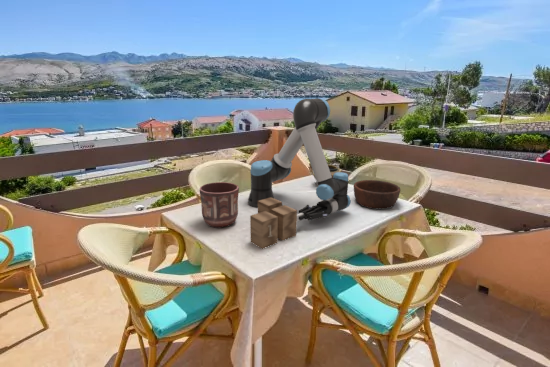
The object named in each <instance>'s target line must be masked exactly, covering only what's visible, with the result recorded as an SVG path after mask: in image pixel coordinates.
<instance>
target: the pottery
mask: <svg viewBox="0 0 550 367" xmlns="http://www.w3.org/2000/svg"><path fill="white" fill-rule="evenodd" d="M239 192H240V187H239V185H237V184H235V183H232V182H228V181H227V182H226V181H224V182H223V181H222V182H220V181H219V182H209V183H205V184H203V185H201V186H200V187H199V195H200V203H201V204H200V205H201V215H202V218H203V221H204V223H205V224H206V225H208V227H209V226H210V227H212V228H215V229H216V228H218V229H219V228H222V229H223V228H228V227H230V226H231V225H233V224H234V223H235V222H236V220H237V218H238V215H239Z"/></svg>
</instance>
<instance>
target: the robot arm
mask: <svg viewBox="0 0 550 367" xmlns="http://www.w3.org/2000/svg"><path fill="white" fill-rule="evenodd" d="M292 114H293V116H292V118H293V124H294V128H293V129H292V131H291V133H290V135H289V136H288V138H287V139H286V141H285V142H284V144H283V146H282V147H281V148H280V151H279V152H278V153H274V155H273V157H272V158H271V160H269V159H268V160H266V159H265V160H264V159H262V160H257V161H254V162H252V163H251V165H250V191H249V195H248V198H247V204H248V205H249V206H250V207H253V208H258V201H259V200H263V199H266V198H270V197H271V198H274V199H276V198H275V195H274V193H273V183H274V182H277V181H281V180H284V179H286V178H287V177H288V176H289V175H290V174H291V172H292V166H293V163H292V161H293V160H294V158H295V157H296V155H297V154H298V153H299V151H300V150H301V148H302V147H303V146H304V149H305V152H306V155H307V158H308V161H309V163H310V166H311V169H312V171H313V173H314V175H315V178H316V179H315V178H314V179H315V181H316V184H317V186H316V189H315V190H316V191H315V194H316V196H317V198H318V199H319V200H320V201H318V202H317V203H316V204H315V205H312V206H310V205H309V204H306V205H305V206H304V207H302V208H301V209H299V210H298V212H297V222H300V221H302V220H308V221H313V220H317V219H322V218H323V219H324V218H328V216H329V215H331V214H333V213H337V212H339V211H343V210H345V209H347V208H349V207H350V205H351V203H352V202H351V201H352V200H351V198H350V196H349V195H348V188H349V174H348V173H347V172H336V173H334V175H333V179H332V176H331V173H330V170H329V167H328V165H329V164H328V161H327V159H326V155H325V153H324V151H323V146H322V145H321V142H320V138H319V136H318V133H317V129H318V128H319V126H320V125H321V123H323V122H326V120H327V119H329V117H330V115H331V107H330V104H329V103H328V101H327V100H326V99H324V98H320V97H316V98H303V99H301V100H299V101H298V102H297V103H296V104H295V106H294V108H293V112H292Z"/></svg>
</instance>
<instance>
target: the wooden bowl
mask: <svg viewBox="0 0 550 367" xmlns="http://www.w3.org/2000/svg"><path fill="white" fill-rule="evenodd" d="M400 193H401V188H400V186H398V185H397V184H395V183H392V182H389V181H386V180H385V181H383V180H379V179H378V180H377V179H364V180H358V181H356V182H354V184H353V194H354V195H353V196H354V198H355V200H356V203H358V204H359V205H360V206H362V207H365V208H368V209H372V210H387V209H392V207H394V206H395V205H396V204H397V202H398V199H399V197H400Z"/></svg>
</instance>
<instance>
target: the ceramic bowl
mask: <svg viewBox="0 0 550 367" xmlns="http://www.w3.org/2000/svg"><path fill="white" fill-rule="evenodd" d="M328 167H329V170H330V173H331V176H332V179H333V175H334V173H336V172H342V171H343V170H342V169H341V168H339V167H338V166H336V165H333V164H328ZM312 176H313V178H314V180H316V178H315V175H314V172H313V173H312Z"/></svg>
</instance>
